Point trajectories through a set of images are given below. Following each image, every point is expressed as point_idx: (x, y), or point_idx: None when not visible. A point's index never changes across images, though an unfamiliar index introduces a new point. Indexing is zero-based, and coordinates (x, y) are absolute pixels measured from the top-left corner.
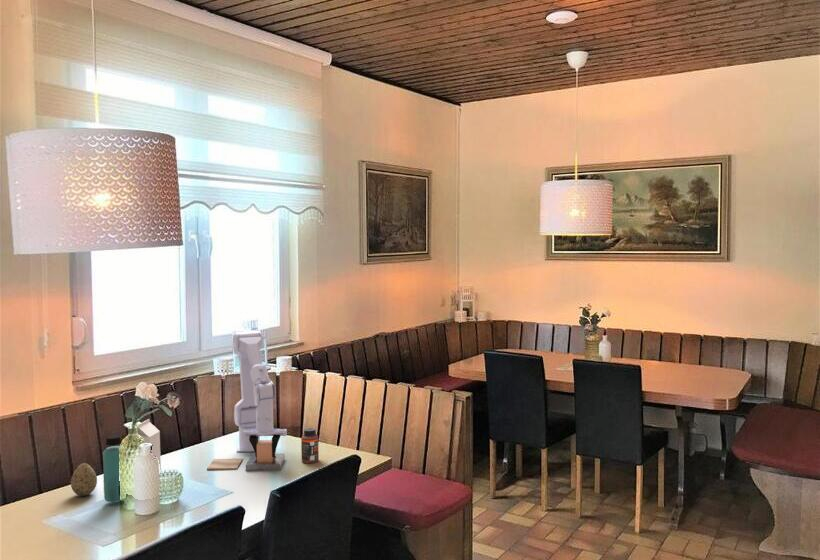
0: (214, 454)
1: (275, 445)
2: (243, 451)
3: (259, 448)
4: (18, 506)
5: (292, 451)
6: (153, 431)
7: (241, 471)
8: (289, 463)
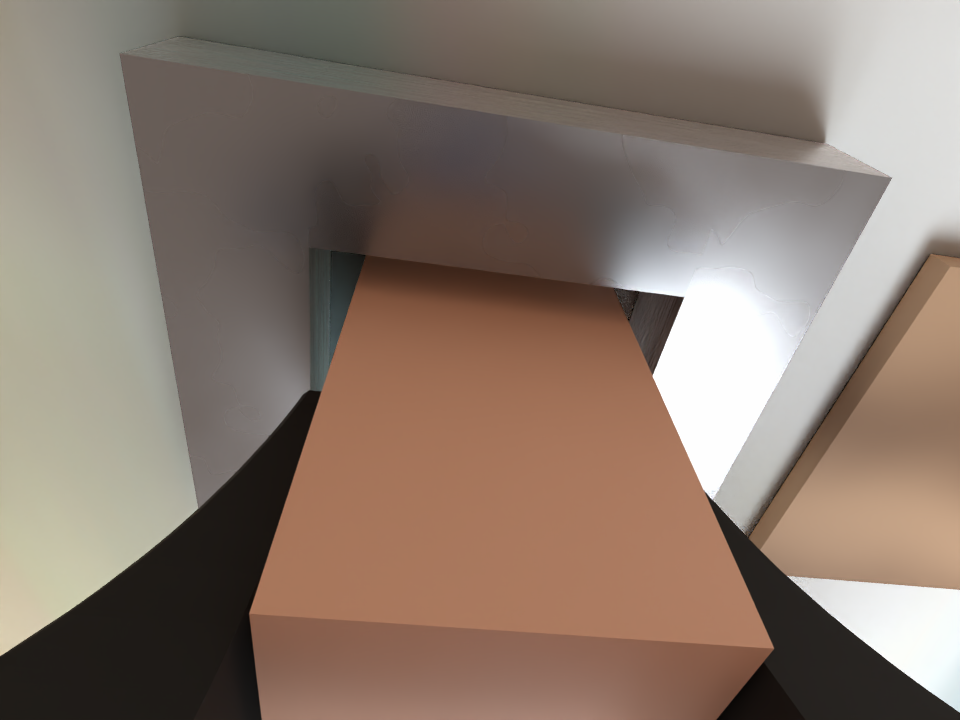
0: (936, 693)
1: (144, 576)
2: None
3: (645, 527)
4: None
5: None
6: None
7: (898, 142)
8: (115, 356)
